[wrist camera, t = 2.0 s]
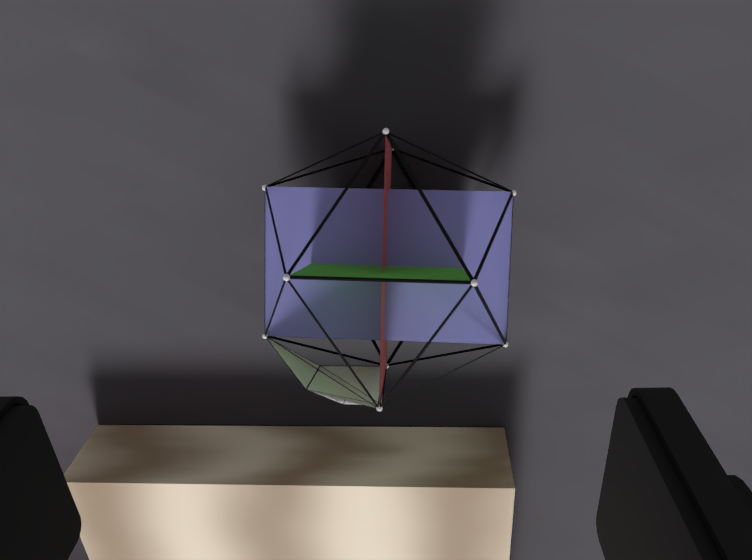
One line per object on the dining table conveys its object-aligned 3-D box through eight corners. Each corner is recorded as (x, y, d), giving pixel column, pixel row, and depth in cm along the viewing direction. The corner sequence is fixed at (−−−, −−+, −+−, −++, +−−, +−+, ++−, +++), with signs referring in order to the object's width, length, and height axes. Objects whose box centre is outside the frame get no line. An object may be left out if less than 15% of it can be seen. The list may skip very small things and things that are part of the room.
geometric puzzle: (252, 55, 15) (196, 361, 12) (529, 57, 15) (552, 375, 12) (297, 206, 22) (269, 433, 19) (491, 211, 21) (499, 443, 18)
